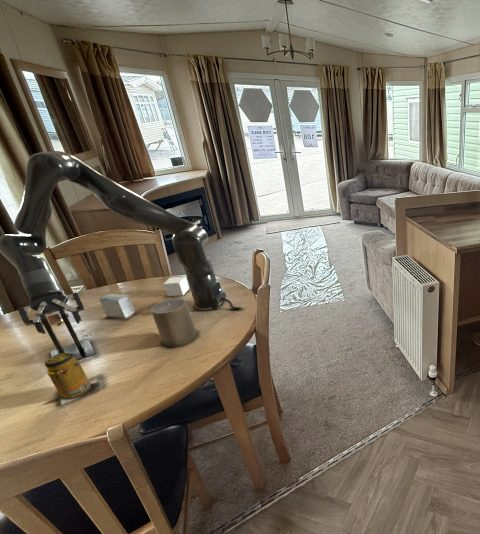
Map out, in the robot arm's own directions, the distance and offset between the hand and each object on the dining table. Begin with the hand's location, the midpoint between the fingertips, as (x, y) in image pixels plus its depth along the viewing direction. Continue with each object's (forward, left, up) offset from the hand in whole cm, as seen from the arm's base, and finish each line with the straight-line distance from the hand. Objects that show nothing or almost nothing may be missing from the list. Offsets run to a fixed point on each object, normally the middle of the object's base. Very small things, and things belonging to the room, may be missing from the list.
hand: (61, 327), depth 112 cm
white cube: (-9, -37, -7) cm, 39 cm away
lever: (-4, +3, +3) cm, 6 cm away
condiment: (-24, +20, -7) cm, 32 cm away
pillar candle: (-34, -5, -7) cm, 35 cm away
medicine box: (-2, -17, -7) cm, 19 cm away
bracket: (-7, +6, -7) cm, 11 cm away
